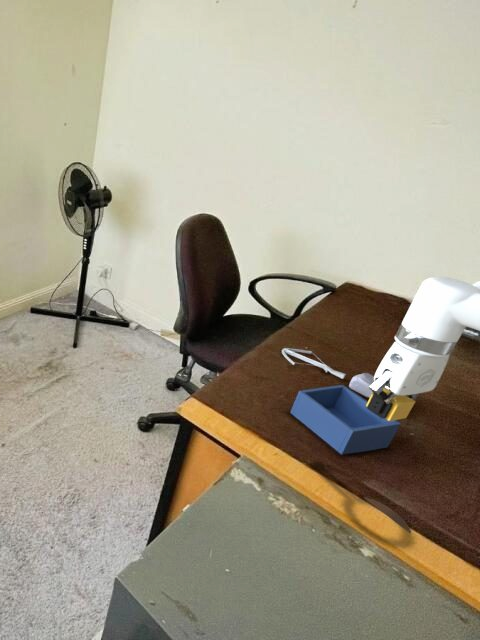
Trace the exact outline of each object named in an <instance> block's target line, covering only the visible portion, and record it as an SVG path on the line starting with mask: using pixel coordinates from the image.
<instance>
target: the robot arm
mask: <svg viewBox="0 0 480 640" xmlns="http://www.w3.org/2000/svg"><path fill="white" fill-rule="evenodd" d="M406 311H407V312H406V314H405V316H404V317H403V320H402V322H401V323H400V325H399V327H398V329H397V332H396V333H395V335H394V340H395V341H394V342H393V343H392V345H391V346H390V348H389V349H388V350H387V352H386V354H385V355H384V356H383V358H382V360H381V361H380V363H379V365H378V367H377V369H376V371H375V373H374V375H373V376H374V381H375V382H374V383H373V384H372V385H371V386H370V387H369V389H371V390H372V391H373V393H372V394H373V396H372V398H371V400H370V402H369V404H368V406H367V409H368V410H370V411H371V412H373V413H374V414H376V415H377V416H379V417H380V418H382V419H384V418H386V416H387V415H388V413H389V411H390V409H391V407H392V405H393V404H392V403H391V402H392V400H393V399H394V398H395V396H396V395H398V396H405V395H406V396H407V397H409V398H411V399H413V400H416V399H417V398H418V396H419V394H423V393H428V392H431V391H433V390H435V388H436V387H437V384H438V383H439V381H440V379H441V377H442V375H443V374H444V372H445V369H446V366H447V364H448V361H449V359H450V355H451V353H452V352H453V350H454V348H455V347H456V345H457V343H458V341H459V339H460V338H461V336H462V334H463V332H464V331H465V329H466V328H470V329H473V330H477V331H479V332H480V280H479V281H477V282H474V283H472V284H471V283H469V282H466V281H464V280H461V279H460V280H459V279H455V278H451V277H443V276H432V277H428V278H426V279H424V280H423V281H422V282H421V284H420V286H419V288H418V289H417V291H416V294H415V295H414V298H413V299H412V301H411V303H410V305H409V307H408V310H406ZM387 384H388V385H387ZM389 385H390V386H389ZM384 388H385V389H387V390H389V391H390V393H389V395H387V394H386V392H384V391H383V389H384Z"/></svg>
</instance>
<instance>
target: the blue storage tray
mask: <svg viewBox="0 0 480 640" xmlns="http://www.w3.org/2000/svg"><path fill="white" fill-rule="evenodd" d="M367 402H368V400H366V399H365V398H363V397H362V396H360V395H359V394H358V393H357V392H355V391H354V390H352V389H351V388H348V387H347V386H345V385H343V384H338V385H331V386H324V387H317V388H310V389H309V388H308V389H303V390H299V391H298V393H297V395H296V397H295V400H294V402H293V404H292V406H291V409H290V411H289V413H290V414H291V415H292V416H293V417H295V418H296V419H297V420H298V421H300V422H301V423H302V424H304V425H305V426H306V427H307V428H308V429H310V431H312V432H313V433H314V434H315V435H317V436H318V437H319V438H320V439H322V440H323V441H324V442H325V443H327V444H328V445H329V446H330V447H331V448H332V449H334V450H335V451H336V452H338V453H339V454H340V455H349V454H356V453H364V452H369V451H375V450H381V449H385V448H387V449H388V448H389V446H390V445H391V442H392V440H393V439H394V437H395V435H397V432H398V430H399V428H400V427H401V425H402V423H401V422H399V421H398V420H393V421H388V420H387V419H385V418H384V419H382V418H380V417H379V416H377V415H376V414H374V413H373V412H371V411H370V410H368V409H367V406H366V404H367Z"/></svg>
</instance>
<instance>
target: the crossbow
mask: <svg viewBox="0 0 480 640" xmlns="http://www.w3.org/2000/svg"><path fill="white" fill-rule="evenodd" d="M300 353H303V354H309V355H311V354H313V355H314V356H315V357H316V359H318V360H319V361H320V362H319V361H317V360H315V359H311V358H310V357H306V356H304V355H302V354H300ZM281 354H282V355H283V357H284V358H285V359H286V360H287V361H288V362H289V363H290V364H291V365H293V366H295V364H296V362H295V361H293V360H292V359H291V358H290V357H289V356H288V355H290V356H292V357H294V358H297V359H299V360H302V361H304V362H306V366H307V365H309V366H310V365H312V366H313V367H314V366H315V367H318V368H320V369H323V370H324V371H325V373H328V372H329V373H330V374H332V375H334V376H336V377H338V378H340V379H342V380H344V379H345V377H346V375H347V374H346V373H343V372H341V371H337V370H334V369H333V368H332V367H330V366H328V365H327V364H325V363H324V362H323V361H322V360H321V359H320V358H319V357H318V356H317V355H316V354H315V353H313V351H311V350H305V349H298V348H289V347H287V348H286V347H285V348H282V350H281ZM309 363H310V364H309ZM298 364H300V365H303V363H301V362H300V363H299V362H298Z"/></svg>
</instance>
